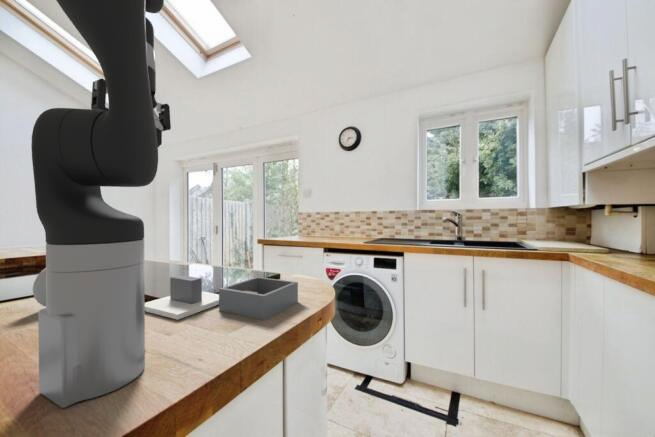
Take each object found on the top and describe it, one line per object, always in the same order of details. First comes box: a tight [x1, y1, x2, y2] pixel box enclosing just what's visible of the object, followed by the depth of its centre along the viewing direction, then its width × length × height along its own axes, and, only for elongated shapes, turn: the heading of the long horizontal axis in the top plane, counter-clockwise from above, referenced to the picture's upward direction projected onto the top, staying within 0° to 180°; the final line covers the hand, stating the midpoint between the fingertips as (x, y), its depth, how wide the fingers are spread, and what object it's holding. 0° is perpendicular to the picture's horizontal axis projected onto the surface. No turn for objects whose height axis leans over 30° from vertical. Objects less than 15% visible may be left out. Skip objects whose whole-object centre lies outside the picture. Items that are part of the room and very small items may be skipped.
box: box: [218, 276, 299, 321], centre depth 59 cm, size 12×12×5 cm
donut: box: [32, 267, 46, 307], centre depth 60 cm, size 10×4×10 cm, turn 179°
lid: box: [145, 274, 219, 320], centre depth 59 cm, size 13×13×7 cm
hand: (135, 142), depth 57 cm, fingers open, 8 cm apart
